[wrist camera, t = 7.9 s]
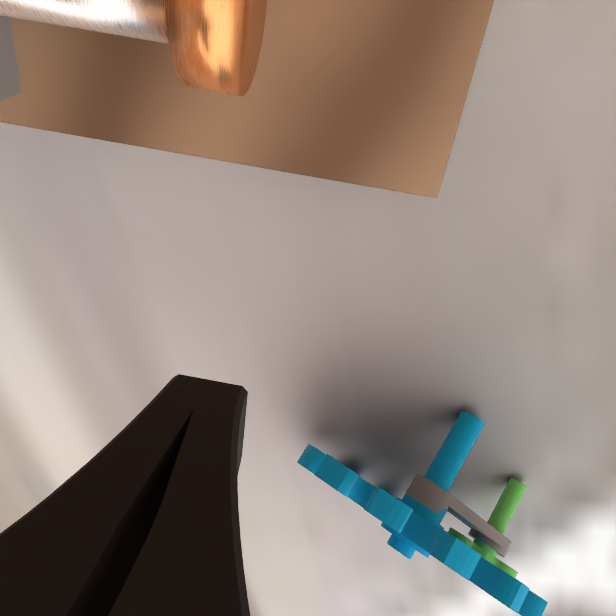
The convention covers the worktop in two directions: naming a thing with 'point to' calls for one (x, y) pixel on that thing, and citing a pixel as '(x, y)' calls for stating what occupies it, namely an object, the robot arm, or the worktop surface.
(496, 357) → the worktop surface
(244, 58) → the shaft
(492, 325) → the worktop surface
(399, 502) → the gear
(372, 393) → the worktop surface
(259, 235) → the worktop surface
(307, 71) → the bearing stand
